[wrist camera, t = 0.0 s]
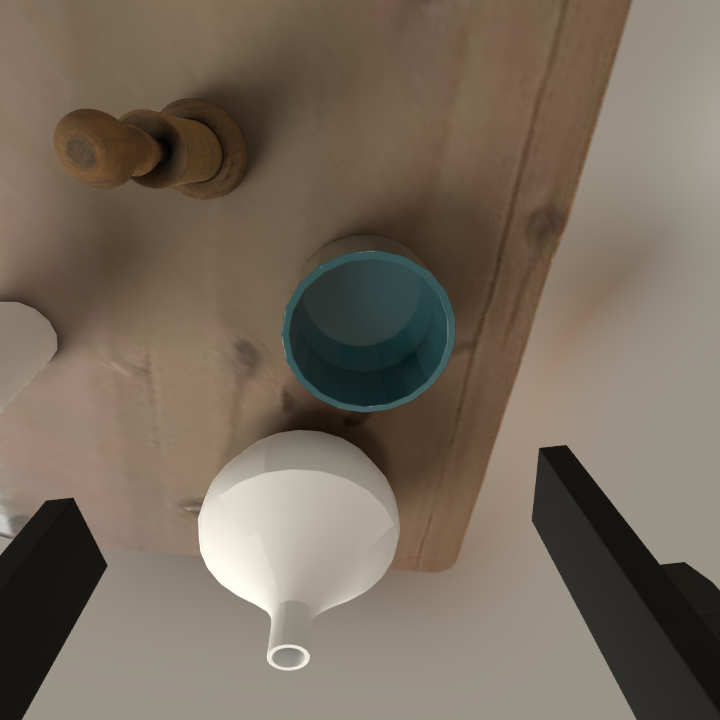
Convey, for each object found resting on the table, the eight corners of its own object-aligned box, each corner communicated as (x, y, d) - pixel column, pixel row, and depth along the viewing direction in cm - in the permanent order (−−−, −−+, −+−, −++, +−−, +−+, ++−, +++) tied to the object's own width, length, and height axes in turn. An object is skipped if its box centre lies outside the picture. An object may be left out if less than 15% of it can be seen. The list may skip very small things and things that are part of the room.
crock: (279, 242, 37) (267, 261, 30) (435, 226, 37) (455, 241, 30) (303, 380, 42) (297, 419, 36) (437, 365, 42) (455, 403, 36)
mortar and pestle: (264, 172, 34) (198, 191, 18) (195, 211, 35) (74, 262, 19) (215, 83, 31) (86, 11, 15) (142, 128, 32) (-52, 105, 16)
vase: (211, 521, 50) (143, 718, 32) (232, 384, 42) (159, 545, 25) (365, 544, 52) (379, 737, 35) (411, 419, 45) (457, 586, 28)
